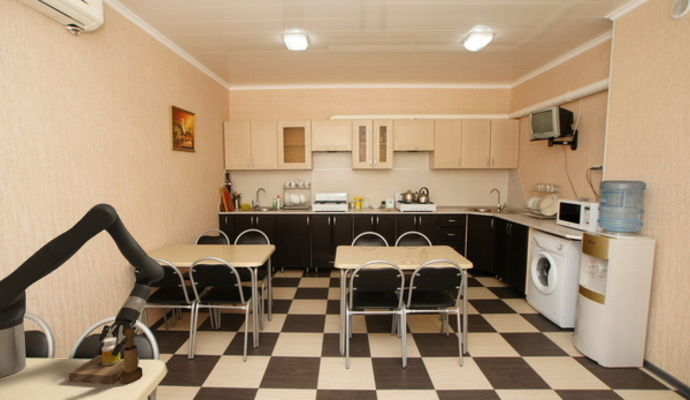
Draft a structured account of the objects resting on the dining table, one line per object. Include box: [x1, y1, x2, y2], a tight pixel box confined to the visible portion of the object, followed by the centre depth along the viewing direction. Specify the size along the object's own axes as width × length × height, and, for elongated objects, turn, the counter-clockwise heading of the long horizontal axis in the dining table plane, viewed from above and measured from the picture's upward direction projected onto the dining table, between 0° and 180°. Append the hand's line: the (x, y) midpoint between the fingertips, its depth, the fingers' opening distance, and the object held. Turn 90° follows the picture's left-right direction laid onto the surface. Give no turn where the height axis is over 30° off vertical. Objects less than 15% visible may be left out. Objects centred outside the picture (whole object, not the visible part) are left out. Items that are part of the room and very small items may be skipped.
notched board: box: [68, 354, 140, 385], centre depth 115 cm, size 17×12×3 cm
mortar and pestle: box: [119, 328, 144, 385], centre depth 111 cm, size 7×6×18 cm
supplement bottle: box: [102, 337, 121, 367], centre depth 117 cm, size 5×5×10 cm
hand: (106, 354), depth 116 cm, fingers closed on supplement bottle, 5 cm apart
